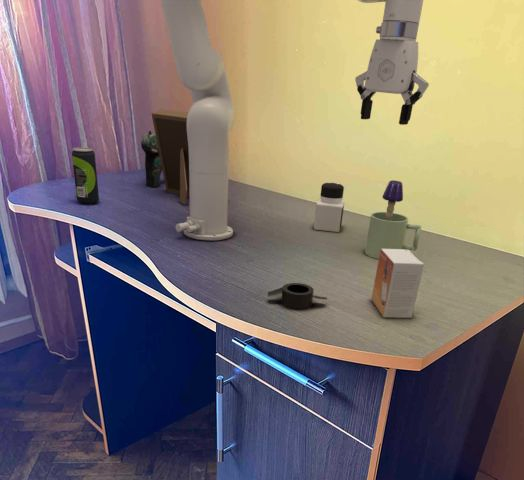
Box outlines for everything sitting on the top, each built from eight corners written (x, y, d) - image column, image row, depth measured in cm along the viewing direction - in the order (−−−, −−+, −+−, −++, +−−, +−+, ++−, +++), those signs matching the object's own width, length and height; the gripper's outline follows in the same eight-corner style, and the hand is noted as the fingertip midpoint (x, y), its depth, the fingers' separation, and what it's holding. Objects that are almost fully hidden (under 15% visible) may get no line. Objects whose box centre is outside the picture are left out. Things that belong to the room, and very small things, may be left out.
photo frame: (174, 189, 175) (172, 108, 163) (226, 200, 166) (228, 115, 154) (144, 196, 164) (139, 110, 152) (197, 208, 154) (197, 117, 142)
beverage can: (102, 204, 153) (97, 150, 145) (81, 205, 149) (75, 151, 142) (95, 199, 157) (90, 147, 150) (74, 201, 154) (68, 147, 146)
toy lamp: (394, 250, 127) (407, 181, 119) (390, 256, 123) (403, 184, 115) (375, 247, 129) (387, 178, 121) (370, 252, 125) (382, 181, 117)
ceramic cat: (152, 188, 174) (149, 124, 164) (138, 185, 177) (135, 122, 167) (190, 181, 189) (190, 121, 179) (177, 178, 192) (176, 119, 182)
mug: (365, 257, 123) (371, 219, 119) (364, 247, 131) (370, 210, 126) (416, 263, 122) (424, 224, 117) (413, 252, 129) (420, 215, 125)
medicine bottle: (339, 232, 141) (345, 187, 135) (313, 229, 142) (318, 184, 136) (341, 226, 147) (347, 182, 141) (316, 223, 148) (321, 180, 142)
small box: (370, 300, 100) (379, 247, 95) (398, 300, 101) (409, 248, 96) (382, 318, 93) (393, 262, 88) (412, 318, 94) (424, 263, 89)
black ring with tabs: (285, 290, 102) (286, 276, 101) (329, 304, 97) (331, 290, 96) (263, 301, 97) (264, 287, 95) (308, 317, 92) (310, 302, 90)
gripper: (354, 30, 110) (342, 117, 119) (429, 32, 101) (411, 127, 109) (371, 33, 116) (359, 117, 124) (445, 36, 106) (426, 126, 114)
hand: (383, 121), depth 117 cm, fingers open, 9 cm apart
